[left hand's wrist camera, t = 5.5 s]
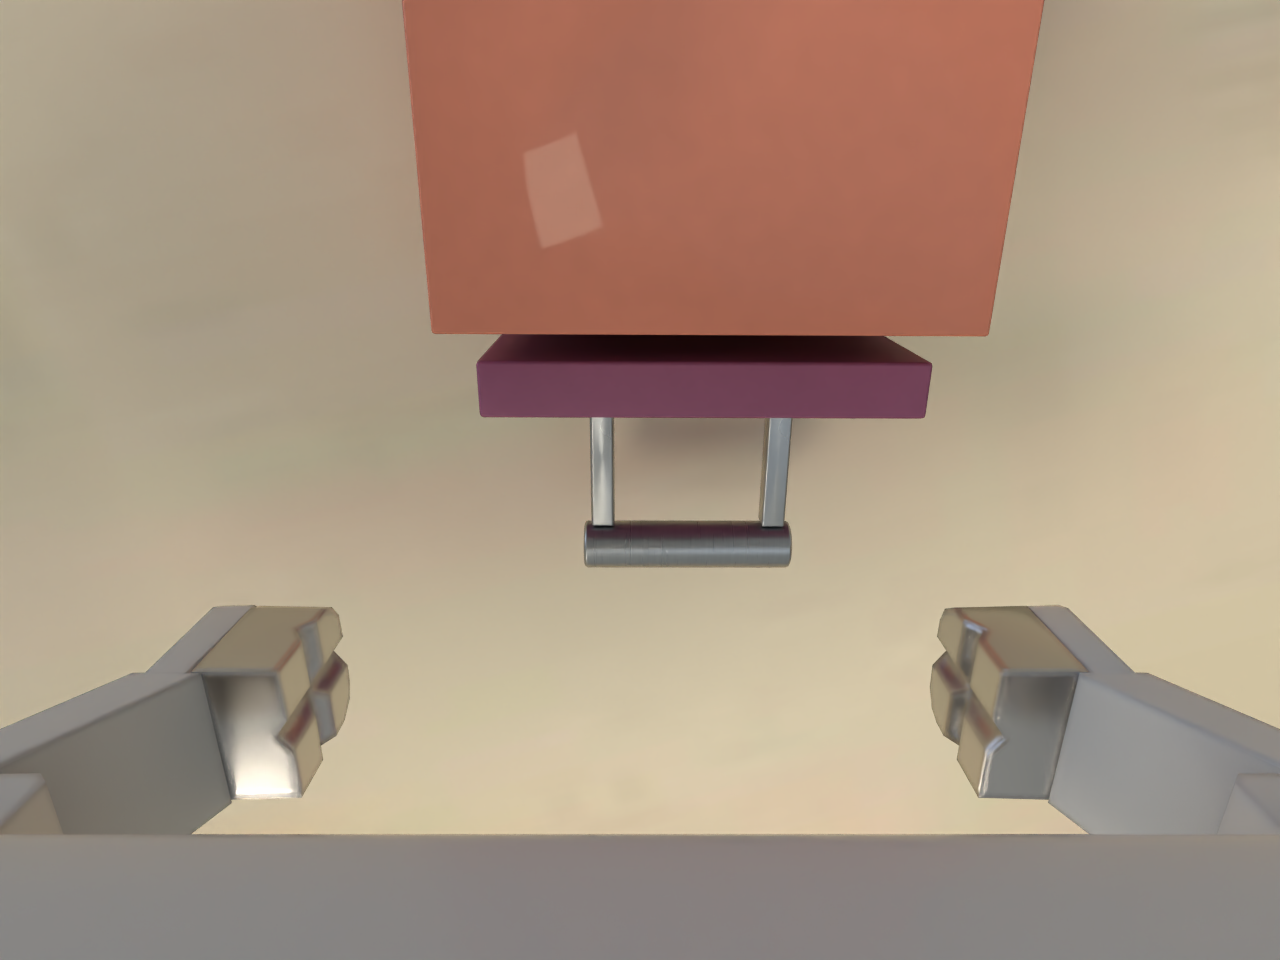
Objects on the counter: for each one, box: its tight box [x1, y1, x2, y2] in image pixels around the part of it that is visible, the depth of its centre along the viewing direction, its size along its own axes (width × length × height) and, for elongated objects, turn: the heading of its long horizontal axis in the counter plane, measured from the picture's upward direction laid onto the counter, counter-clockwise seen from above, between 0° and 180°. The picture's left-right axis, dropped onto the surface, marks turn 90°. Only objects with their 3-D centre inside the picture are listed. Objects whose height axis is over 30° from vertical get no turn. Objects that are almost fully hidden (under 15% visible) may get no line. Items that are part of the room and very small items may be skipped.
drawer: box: [476, 334, 932, 567], centre depth 17 cm, size 23×9×7 cm, turn 0°
